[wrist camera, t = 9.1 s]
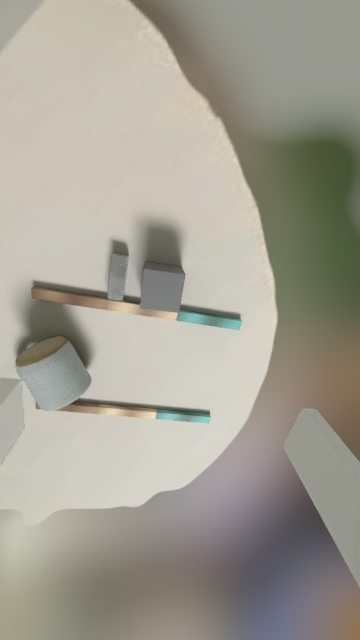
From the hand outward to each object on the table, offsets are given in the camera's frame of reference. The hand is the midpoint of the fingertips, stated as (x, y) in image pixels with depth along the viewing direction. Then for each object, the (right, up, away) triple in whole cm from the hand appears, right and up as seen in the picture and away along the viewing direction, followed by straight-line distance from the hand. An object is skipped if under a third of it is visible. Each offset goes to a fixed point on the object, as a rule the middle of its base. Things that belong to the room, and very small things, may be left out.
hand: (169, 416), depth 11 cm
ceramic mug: (-19, -2, +26) cm, 32 cm away
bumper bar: (-8, +11, +22) cm, 25 cm away
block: (-4, +9, +20) cm, 22 cm away
